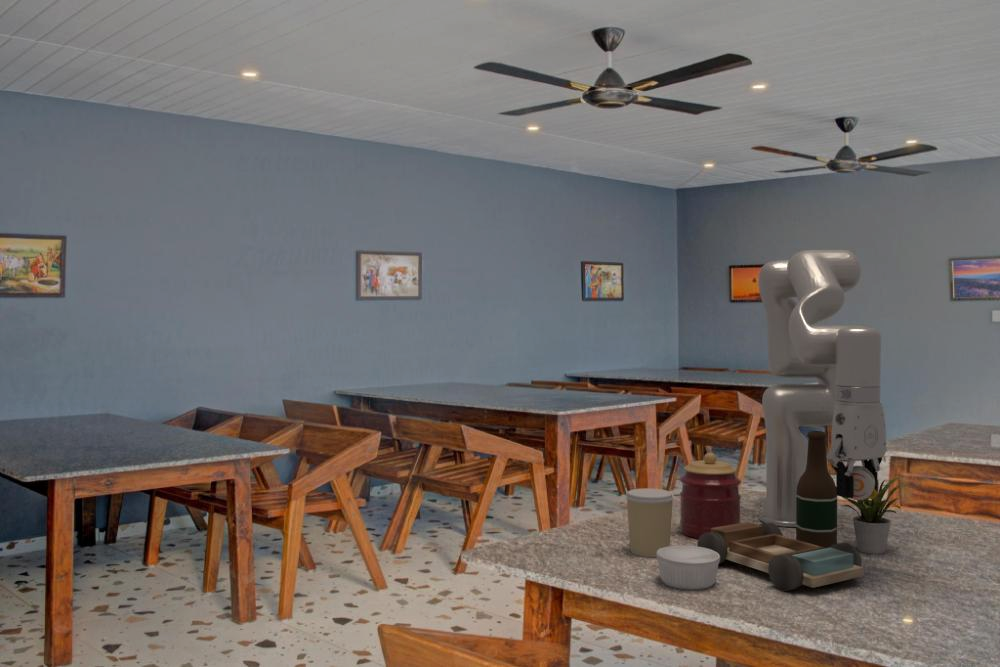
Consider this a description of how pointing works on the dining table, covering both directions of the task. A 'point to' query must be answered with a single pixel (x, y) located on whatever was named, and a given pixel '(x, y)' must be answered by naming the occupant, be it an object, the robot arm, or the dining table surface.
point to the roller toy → (863, 483)
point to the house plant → (873, 520)
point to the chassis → (783, 555)
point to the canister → (709, 496)
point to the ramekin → (688, 566)
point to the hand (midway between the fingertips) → (856, 493)
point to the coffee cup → (649, 520)
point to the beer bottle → (816, 497)
